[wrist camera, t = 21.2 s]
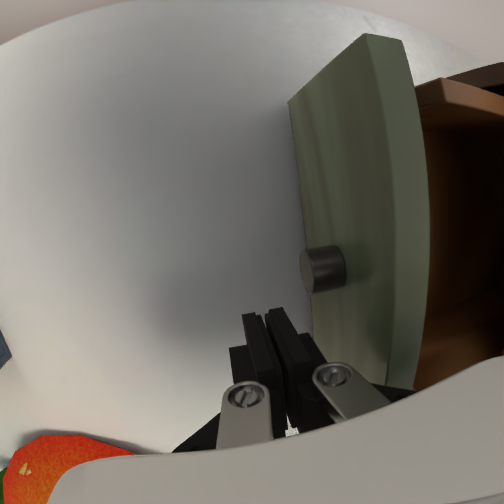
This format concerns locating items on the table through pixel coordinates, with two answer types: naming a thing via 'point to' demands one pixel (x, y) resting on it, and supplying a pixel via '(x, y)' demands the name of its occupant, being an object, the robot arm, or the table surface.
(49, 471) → the toy strawberry
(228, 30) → the table surface
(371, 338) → the drawer
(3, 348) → the tray
